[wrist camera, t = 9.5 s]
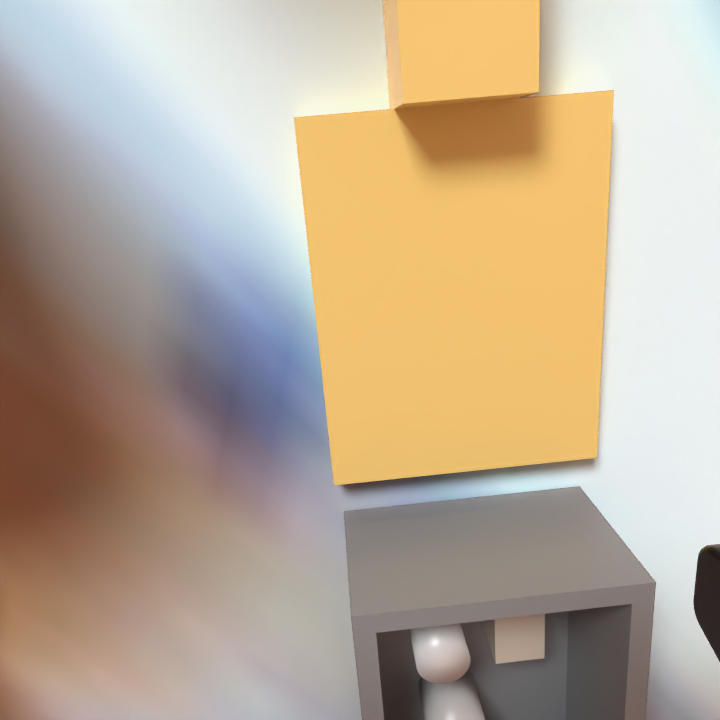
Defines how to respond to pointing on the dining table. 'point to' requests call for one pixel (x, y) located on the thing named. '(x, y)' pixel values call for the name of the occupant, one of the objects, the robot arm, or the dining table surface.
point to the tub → (498, 610)
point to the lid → (459, 252)
